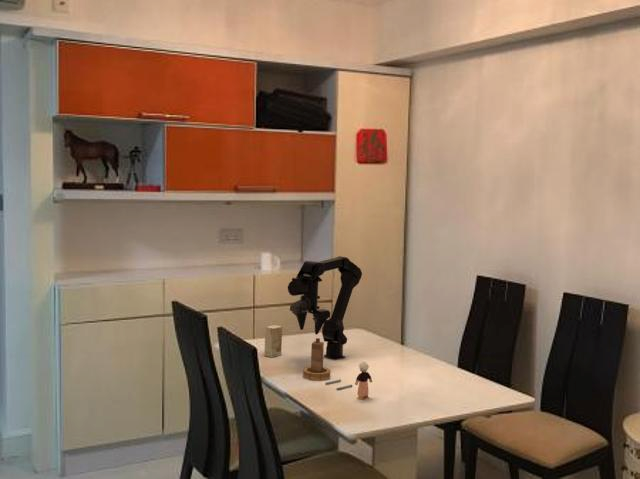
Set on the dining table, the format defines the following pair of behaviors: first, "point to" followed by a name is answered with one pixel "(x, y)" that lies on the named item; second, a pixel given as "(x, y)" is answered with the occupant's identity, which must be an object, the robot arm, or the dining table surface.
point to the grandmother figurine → (363, 381)
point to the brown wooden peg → (317, 356)
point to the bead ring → (316, 374)
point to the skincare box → (273, 341)
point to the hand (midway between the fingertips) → (309, 332)
